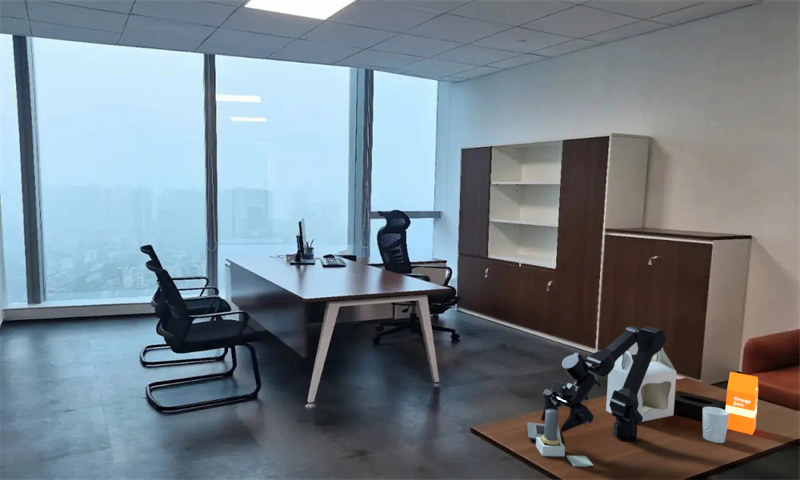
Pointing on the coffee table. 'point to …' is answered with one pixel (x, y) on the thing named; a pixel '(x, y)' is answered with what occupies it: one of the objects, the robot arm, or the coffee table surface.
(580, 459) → the rubber pad
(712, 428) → the white cup
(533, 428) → the electrical outlet
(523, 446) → the coffee table surface
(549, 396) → the robot arm
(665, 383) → the gable box
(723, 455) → the coffee table surface
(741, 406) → the orange juice
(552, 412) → the grey tapered rounded cylinder
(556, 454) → the frame
